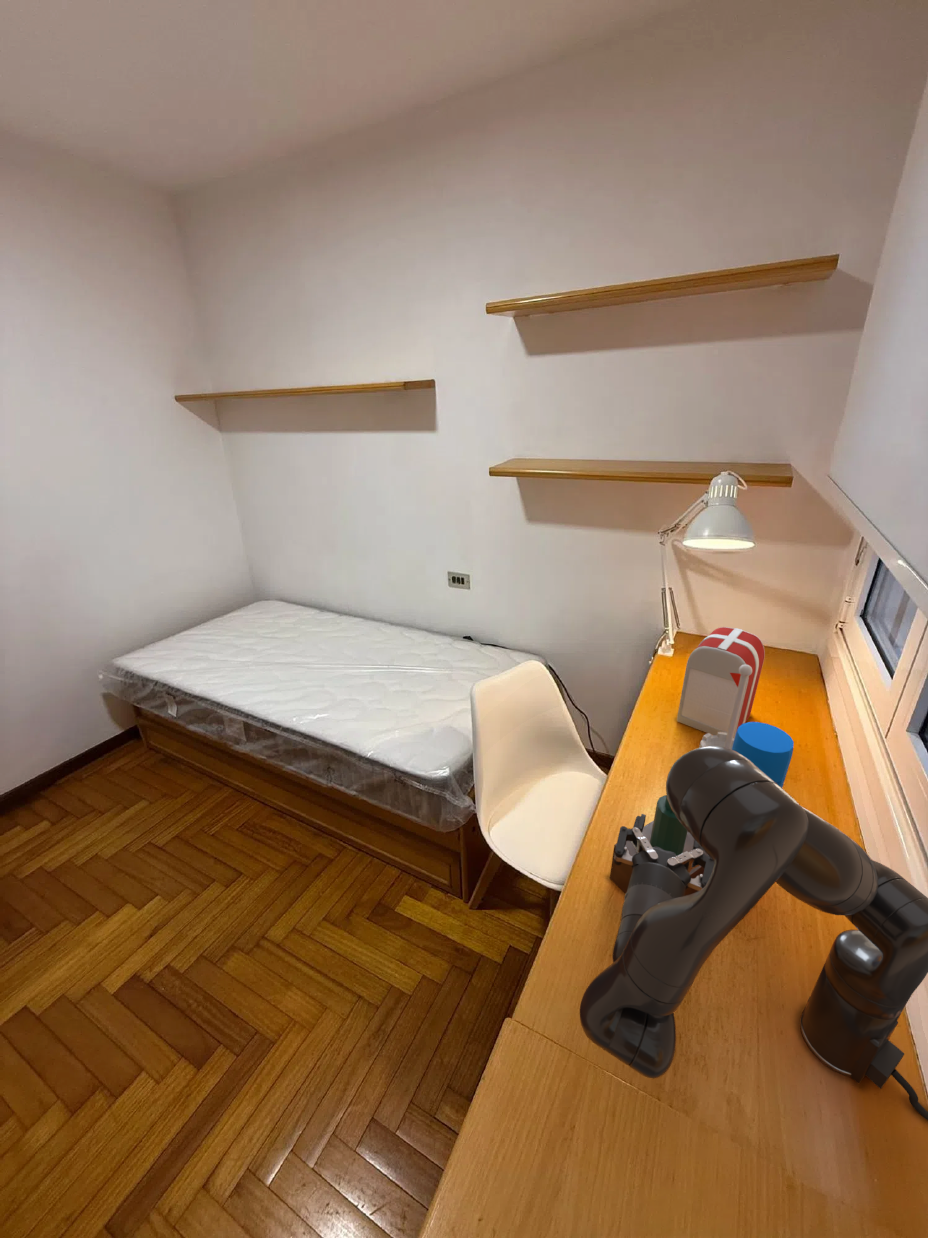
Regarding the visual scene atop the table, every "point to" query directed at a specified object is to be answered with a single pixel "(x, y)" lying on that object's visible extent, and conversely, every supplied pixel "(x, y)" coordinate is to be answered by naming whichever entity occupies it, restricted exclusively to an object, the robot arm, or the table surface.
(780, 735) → the thermos
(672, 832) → the bottle
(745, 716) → the toy mailbox
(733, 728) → the flag stand
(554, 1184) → the table surface
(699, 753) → the robot arm
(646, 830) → the lid
